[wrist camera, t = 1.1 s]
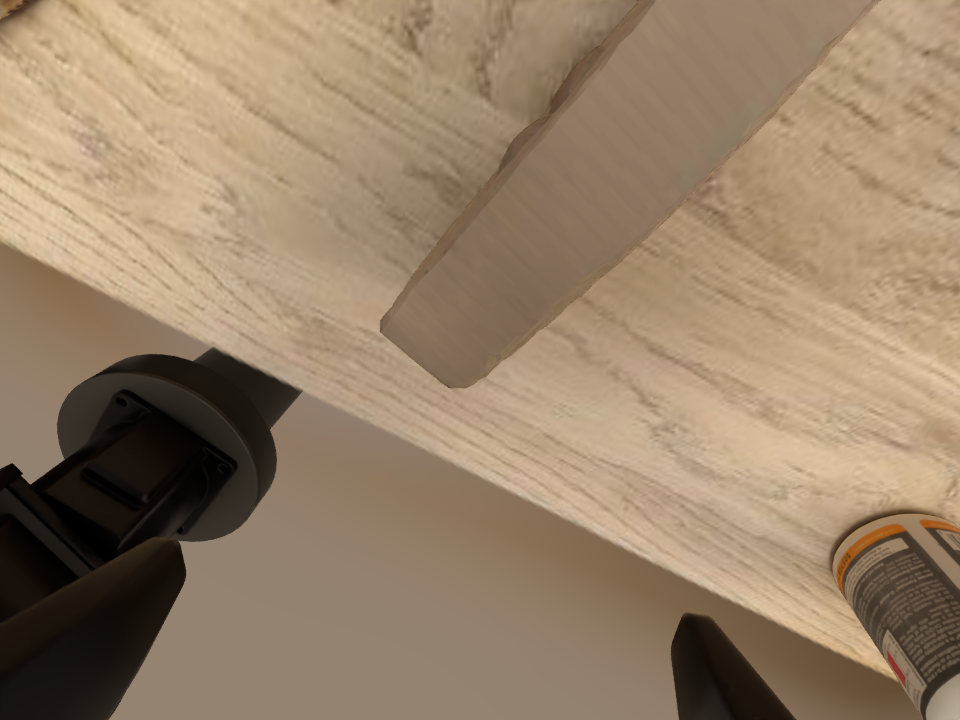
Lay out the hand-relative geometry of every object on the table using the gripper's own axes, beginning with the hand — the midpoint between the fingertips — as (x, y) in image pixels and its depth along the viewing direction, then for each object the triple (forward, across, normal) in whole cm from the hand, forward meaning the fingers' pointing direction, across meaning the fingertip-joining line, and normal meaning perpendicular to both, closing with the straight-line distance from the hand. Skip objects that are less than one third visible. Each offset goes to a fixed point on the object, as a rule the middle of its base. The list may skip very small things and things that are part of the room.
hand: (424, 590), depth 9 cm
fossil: (+13, -3, -7) cm, 15 cm away
